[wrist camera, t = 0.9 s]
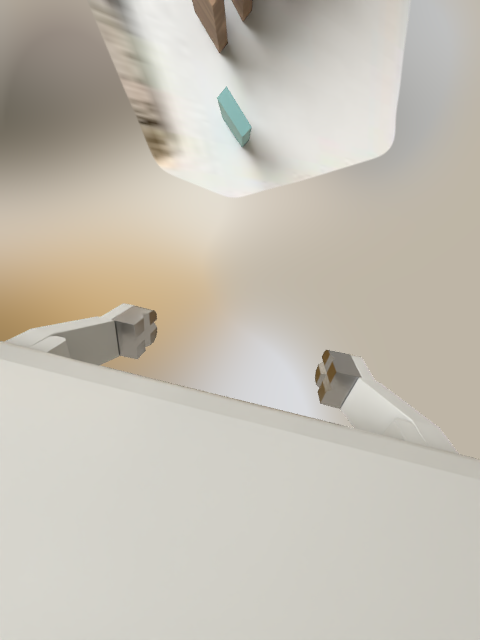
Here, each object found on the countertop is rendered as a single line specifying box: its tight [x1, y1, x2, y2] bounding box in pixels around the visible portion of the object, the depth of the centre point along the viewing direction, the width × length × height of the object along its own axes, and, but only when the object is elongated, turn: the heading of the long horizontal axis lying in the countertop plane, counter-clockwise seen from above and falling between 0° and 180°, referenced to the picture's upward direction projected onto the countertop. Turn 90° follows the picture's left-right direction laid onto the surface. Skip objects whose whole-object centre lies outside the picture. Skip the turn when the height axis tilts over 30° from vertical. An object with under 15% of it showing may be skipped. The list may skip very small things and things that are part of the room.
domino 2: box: [192, 0, 228, 53], centre depth 26 cm, size 2×5×10 cm, turn 40°
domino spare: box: [217, 86, 251, 147], centre depth 32 cm, size 2×5×10 cm, turn 41°
